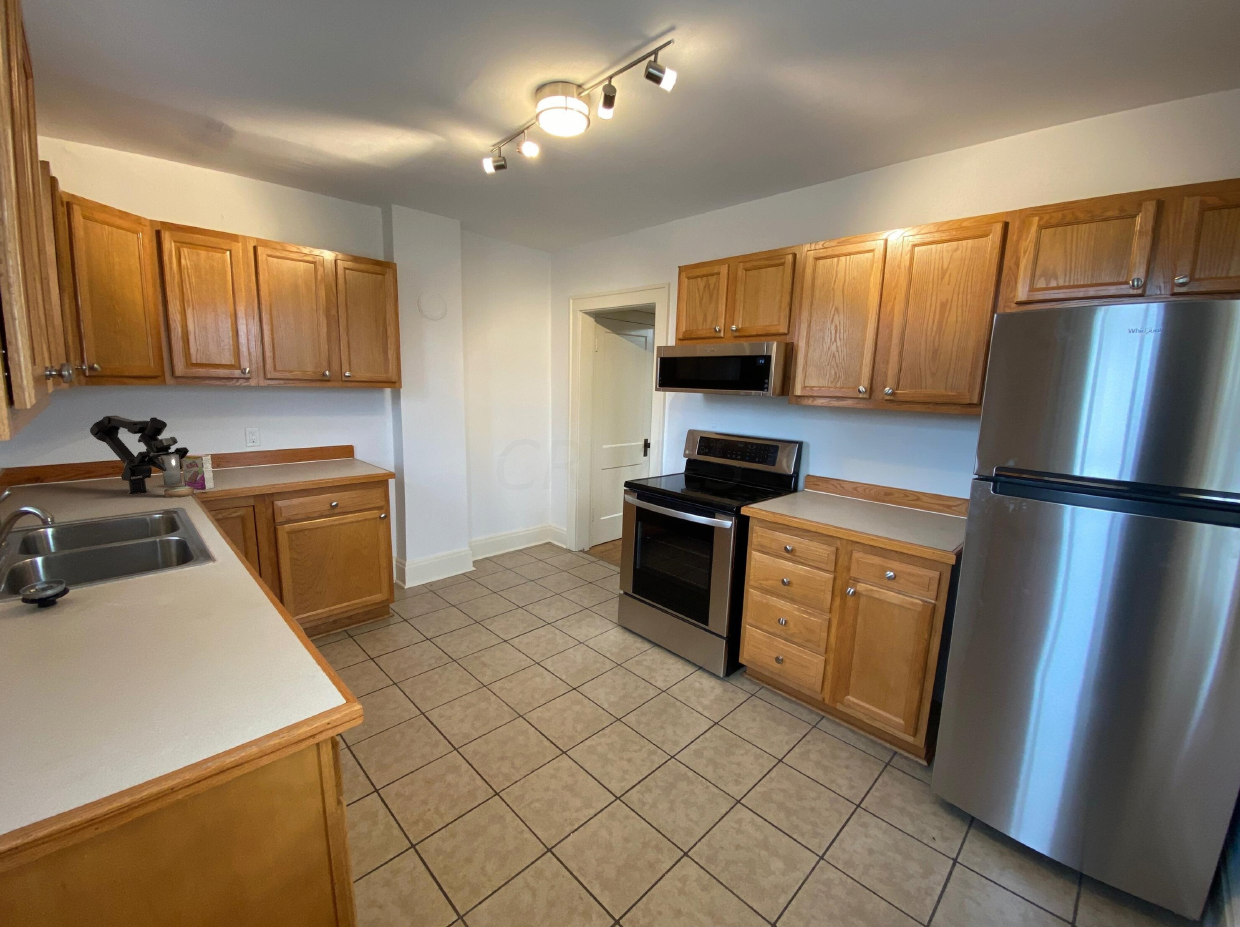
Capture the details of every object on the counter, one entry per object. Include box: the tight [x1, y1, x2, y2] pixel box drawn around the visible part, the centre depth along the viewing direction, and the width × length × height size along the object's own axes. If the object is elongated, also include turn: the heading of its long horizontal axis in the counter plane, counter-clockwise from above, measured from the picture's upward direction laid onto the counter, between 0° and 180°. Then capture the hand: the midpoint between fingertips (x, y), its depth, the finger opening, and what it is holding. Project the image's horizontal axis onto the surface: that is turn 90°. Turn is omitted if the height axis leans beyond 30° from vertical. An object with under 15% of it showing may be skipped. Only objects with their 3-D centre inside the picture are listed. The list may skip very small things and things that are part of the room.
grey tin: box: [160, 454, 183, 486], centre depth 224 cm, size 6×6×13 cm
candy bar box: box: [181, 453, 215, 490], centre depth 242 cm, size 11×5×16 cm, turn 84°
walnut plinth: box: [163, 486, 195, 498], centre depth 229 cm, size 10×10×3 cm
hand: (173, 469), depth 224 cm, fingers closed on grey tin, 6 cm apart
